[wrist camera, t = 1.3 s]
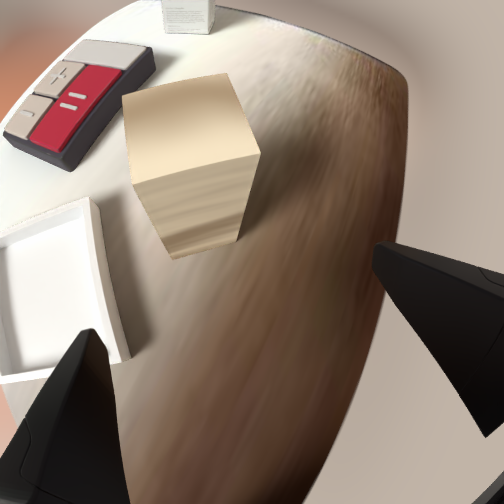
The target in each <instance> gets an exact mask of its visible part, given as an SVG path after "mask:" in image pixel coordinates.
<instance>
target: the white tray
mask: <svg viewBox="0 0 504 504" xmlns="http://www.w3.org/2000/svg"><path fill="white" fill-rule="evenodd" d="M88 328H94V329H95V330H96V332H97V333H98V335H99V336H100V338H101V340H102V341H103V343H104V344H105V346H106V348H107V350H108V355H109V363H110V365H111V364H116V363H120V362H124V361H126V360H129V359H132V358H131V355H130V352H129V348H128V345H127V342H126V338H125V335H124V331H123V327H122V324H121V320H120V316H119V312H118V308H117V304H116V300H115V295H114V291H113V286H112V282H111V277H110V272H109V267H108V262H107V256H106V250H105V244H104V238H103V232H102V225H101V218H100V210H99V208H98V206H97V205H96V204H95V203H94V202H93V200H92V199H91V198H90V197H89V196H87V197H84V198H81V199H78V200H76V201H73V202H70V203H68V204H65V205H62V206H60V207H57V208H55V209H52V210H49V211H47V212H44V213H42V214H40V215H37V216H35V217H32V218H30V219H28V220H25V221H23V222H21V223H18V224H16V225H14V226H12V227H9V228H7V229H5V230H3V231H1V232H0V384H3V383H11V382H18V381H25V380H32V379H38V378H45V377H49V376H50V375H51V373H52V372H53V370H54V369H55V367H56V366H57V364H58V363H59V361H60V360H61V358H62V357H63V355H64V354H65V352H66V351H67V349H68V348H69V346H70V345H71V344H72V342H73V341H74V339H75V338H76V336H77V335H78V334H79V332H80V331H81V330H84V329H88Z"/></svg>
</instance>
